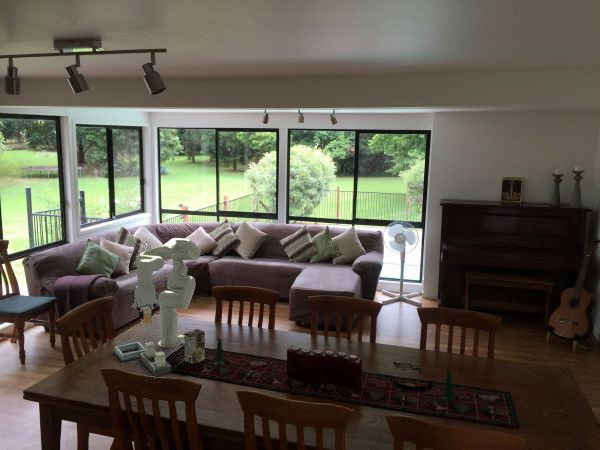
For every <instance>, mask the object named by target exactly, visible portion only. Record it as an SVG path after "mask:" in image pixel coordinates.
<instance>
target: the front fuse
mask: <svg viewBox="0 0 600 450" xmlns="http://www.w3.org/2000/svg"><path fill="white" fill-rule="evenodd" d="M165 360H166V353H165V352H164V351H162V350H161V351H157V353H155V367H156V368H159V367H164V366H165Z"/></svg>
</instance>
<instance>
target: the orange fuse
mask: <svg viewBox="0 0 600 450" xmlns="http://www.w3.org/2000/svg"><path fill="white" fill-rule="evenodd" d="M143 317H144V319H141V318H140V322H141V323H140V324H141V326H142V327H144V328H146V327H150V326H152V325H153V324H152V321H153V319H152V318H153V315H152V316H151V308H150V307H149V306H145V307H144V306H143Z"/></svg>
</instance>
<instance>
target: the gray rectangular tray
mask: <svg viewBox="0 0 600 450" xmlns="http://www.w3.org/2000/svg"><path fill="white" fill-rule="evenodd" d="M157 352H158V351H157V350H155V353H157ZM138 359H139V360H140V361H141V362H142V364H144V366H146V368H147V369H148V370H149V371H150V372H151V373H152V375H153V376H155V377H156V376H161V375H164V374H169V373H171V372H172V365H171V364H170V363H169V362H168V361H167V360H166V359H165V366H164V367H159V368H156V367H155V355H154V356H150V357H146V356H145V352H142V353H139V357H138Z"/></svg>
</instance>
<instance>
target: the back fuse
mask: <svg viewBox="0 0 600 450" xmlns="http://www.w3.org/2000/svg"><path fill="white" fill-rule="evenodd" d="M144 347H145V356H146V357H150V356H154V355H155V351H156V346H155V343H154V342H153V341H148V342H144Z"/></svg>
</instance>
